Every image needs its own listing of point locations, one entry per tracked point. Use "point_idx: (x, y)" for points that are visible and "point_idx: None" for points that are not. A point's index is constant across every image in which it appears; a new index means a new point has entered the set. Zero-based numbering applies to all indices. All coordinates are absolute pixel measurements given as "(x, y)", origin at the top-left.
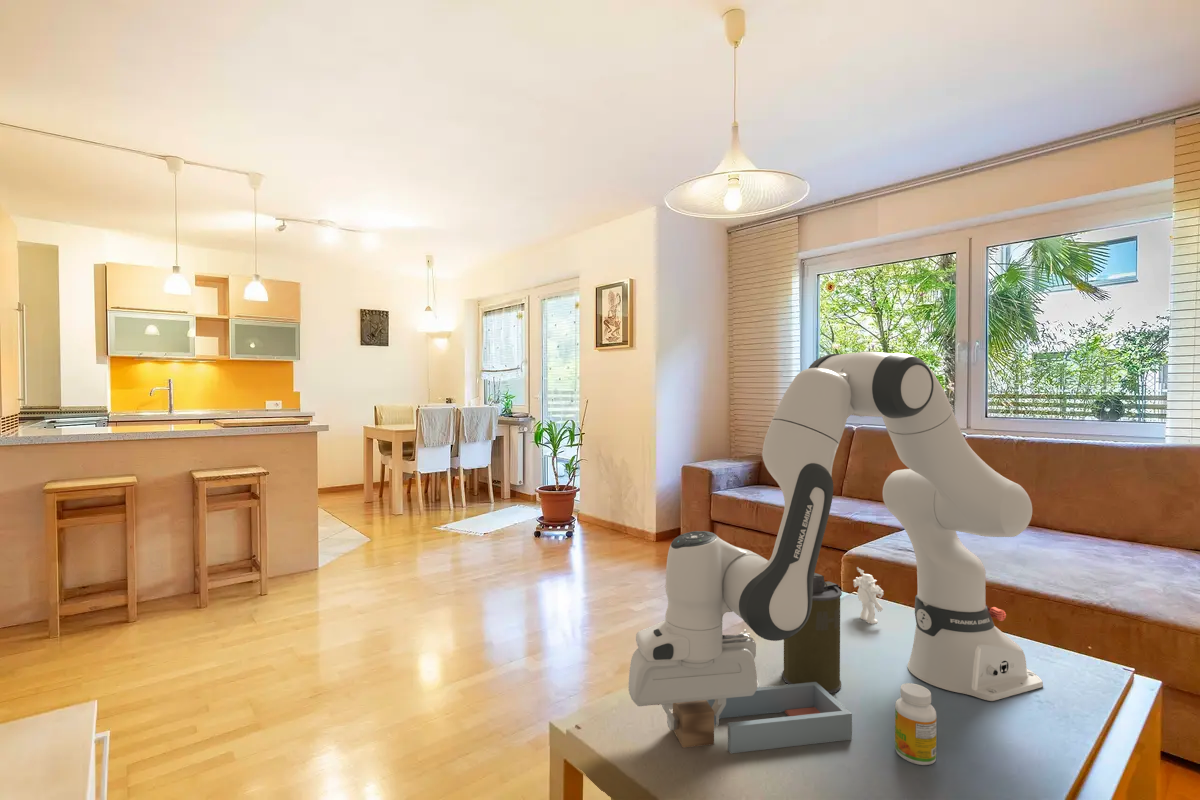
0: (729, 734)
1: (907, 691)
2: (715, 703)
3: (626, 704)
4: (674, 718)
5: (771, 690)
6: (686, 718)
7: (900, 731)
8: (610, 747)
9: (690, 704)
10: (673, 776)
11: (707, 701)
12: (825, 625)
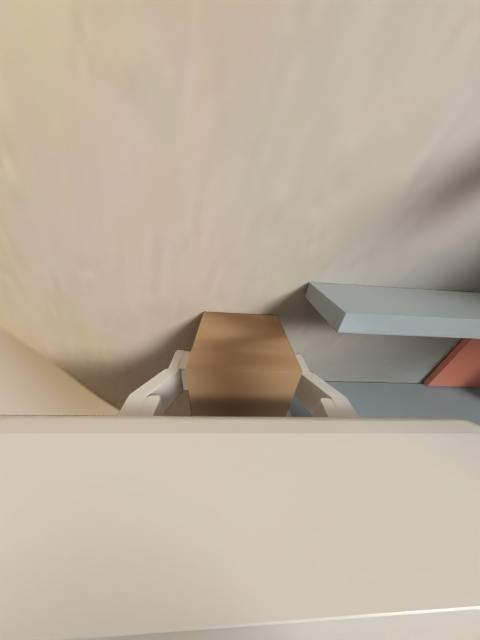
0: (287, 412)
1: None
2: (315, 391)
3: (52, 120)
4: (184, 386)
5: None
6: None
7: None
8: (54, 340)
9: (232, 404)
10: (173, 407)
11: (326, 312)
12: None
